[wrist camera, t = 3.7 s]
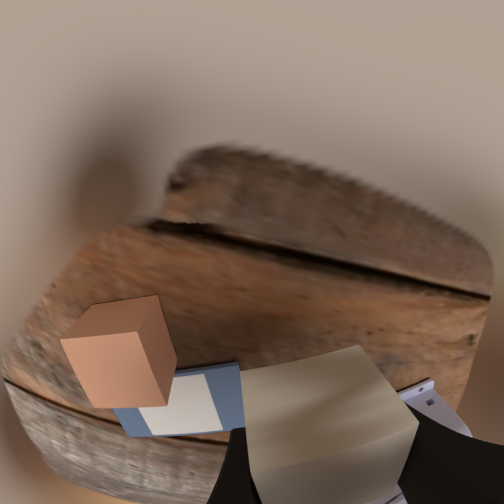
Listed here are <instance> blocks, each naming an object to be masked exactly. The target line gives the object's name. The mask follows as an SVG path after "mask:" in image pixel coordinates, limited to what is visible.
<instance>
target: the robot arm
mask: <svg viewBox="0 0 504 504" xmlns="http://www.w3.org/2000/svg"><path fill="white" fill-rule="evenodd" d="M433 386H434V381H433V380H432V379H428V380H426V381H424V382H422V383H419V384H417V385H415V386H412V387H410V388H408V389H405V390H403V391H400V392H398V393H397V394H398V395H399V396H400V398H401V399H402V400H403V402H404V403H405V404H406V406H407V407H408V408H409V410H410V411H411V412H412V414H413V415H414V416H415V418H416V419H417V420H418V421H419V425H418V428H417V431H416V434H415V437H414V440H413V443H412V446H411V449H410V452H409V455H408V457H407V460H406V463H405V465H404V468H403V470H402V473H401V475H400V477H399V480H398V482H397V484H396V487H395V489H394V491H393V493H392V494H390V495H388V496H385V497H383V498H380V499H378V500H375V501H373V502H370V503H367V504H504V446H503V445H498V444H493V443H489V442H485V441H481V440H478V439H475V438H473V437H472V435H471V433H470V431H469V429H468V427H467V426H466V424H465V423H464V422H463V421H462V420H461V419H460V418H459V416H458V415H457V414H456V413H455V412H454V411H453V410H452V409H451V408H450V406H449V405H448V404H447V403H446V402H445V401H444V400H443V399H442V398H441V397H440V395H439V394H438V393H437V392H436V391H435V390H434V389H433ZM207 504H262V502H261V500H260V497H259V494H258V492H257V489H256V486H255V483H254V481H253V478H252V475H251V472H250V464H249V455H248V446H247V437H246V428H245V427H241V428H234V429H232V430H231V433H230V439H229V444H228V448H227V452H226V456H225V459H224V462H223V465H222V468H221V471H220V474H219V477H218V479H217V482H216V484H215V486H214V489H213V491H212V493H211V495H210V498H209V500H208V502H207Z"/></svg>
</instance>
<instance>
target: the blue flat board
mask: <svg viewBox="0 0 504 504" xmlns="http://www.w3.org/2000/svg"><path fill="white" fill-rule="evenodd" d="M112 409H113V411H114V413H115V415H116V416H117V418H118V420H119V422H120V423H121V425H122V426H123V428H124V430H125V431H126V433H127V435H128V436H129V437H155V436H180V435H194V434H205V433H215V432H224V431H231V430H232V429H234V428H241V427H245V418H244V408H243V398H242V388H241V378H240V367H239V363H238V362H232V363H226V364H220V365H213V366H206V367H199V368H191V369H183V370H175V373H174V377H173V382H172V386H171V391H170V395H169V400H168V405H167V406H162V407H142V408H112Z"/></svg>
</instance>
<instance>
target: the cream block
mask: <svg viewBox="0 0 504 504" xmlns="http://www.w3.org/2000/svg"><path fill="white" fill-rule="evenodd" d="M240 378H241V388H242V398H243V408H244V418H245V428H246V437H247V446H248V455H249V464H250V472H251V475H252V478H253V481H254V483H255V486H256V489H257V492H258V494H259V497H260V500H261V502H262V504H367V503H370V502H373V501H375V500H378V499H380V498H383V497H385V496H388V495H390V494H392V493H393V491H394V489H395V487H396V484H397V482H398V480H399V477H400V475H401V473H402V470H403V468H404V465H405V463H406V460H407V457H408V455H409V452H410V449H411V446H412V443H413V440H414V437H415V434H416V431H417V428H418V425H419V421H418V420H417V419H416V418H415V416H414V415H413V414H412V412H411V411H410V410H409V408H408V407H407V406H406V404H405V403H404V402H403V400H402V399H401V398H400V396H399V395H398V394H397V393H396V391H395V390H394V389H393V387H392V386H391V385H390V383H389V382H388V381H387V380H386V378H385V377H384V376H383V374H382V373H381V372H380V371H379V369H378V368H377V367H376V366H375V364H374V363H373V362H372V360H371V359H370V358H369V357H368V355H367V354H366V353H365V352H364V350H363V349H362V348H361V346H360V345H356V346H352V347H348V348H345V349H341V350H337V351H334V352H330V353H326V354H322V355H318V356H314V357H309V358H305V359H301V360H296V361H292V362H287V363H282V364H277V365H272V366H267V367H262V368H256V369H251V370H245V371H240Z"/></svg>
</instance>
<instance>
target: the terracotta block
mask: <svg viewBox="0 0 504 504" xmlns="http://www.w3.org/2000/svg"><path fill="white" fill-rule="evenodd" d="M60 341H61V344H62V346H63V348H64V351H65V353H66V355H67V357H68V359H69V361H70V363H71V366H72V368H73V370H74V372H75V374H76V376H77V378H78V380H79V382H80V383H81V385H82V387H83V389H84V391H85V393H86V395H87V396H88V398H89V400H90V402H91V403H92V405H93V407H94V408H142V407H162V406H167V405H168V400H169V395H170V391H171V386H172V382H173V377H174V373H175V368H176V364H177V360H178V359H177V356H176V353H175V350H174V347H173V344H172V341H171V338H170V335H169V332H168V329H167V325H166V322H165V319H164V316H163V312H162V309H161V305H160V302H159V298H158V295H152V296H146V297H140V298H134V299H127V300H121V301H114V302H108V303H101V304H95V305H92V306H91V307H90V308H89V309H88V310H87V311H86V312H85V313H84V314H83V315H82V316H81V317H80V318H79V319H78V320H77V321H76V322H75V323H74V324H73V325H72V326H71V327H70V329H69V330H68V331H67V332H66V333H65V334H64V335H63V336H62V337H61V338H60Z"/></svg>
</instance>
